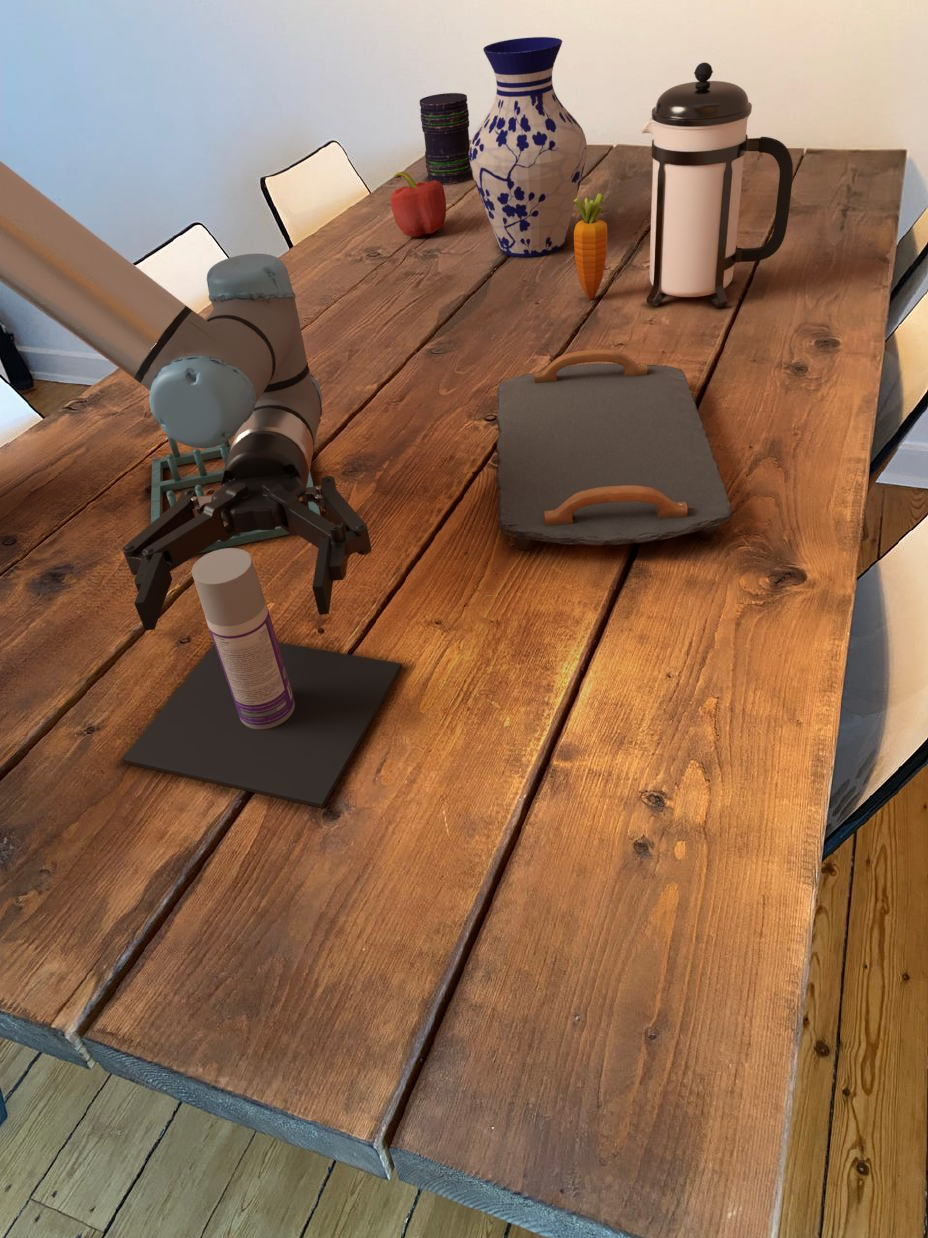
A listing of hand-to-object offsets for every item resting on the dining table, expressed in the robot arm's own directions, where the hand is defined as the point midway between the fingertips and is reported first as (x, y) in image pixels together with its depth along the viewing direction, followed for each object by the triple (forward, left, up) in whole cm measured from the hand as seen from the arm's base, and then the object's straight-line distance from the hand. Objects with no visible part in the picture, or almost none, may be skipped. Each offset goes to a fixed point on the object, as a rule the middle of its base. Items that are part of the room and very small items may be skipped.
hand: (232, 609), depth 72 cm
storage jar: (-49, +150, -12) cm, 158 cm away
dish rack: (-23, +29, -12) cm, 39 cm away
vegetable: (-40, +116, -12) cm, 123 cm away
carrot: (0, +91, -12) cm, 92 cm away
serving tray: (+15, +46, -12) cm, 50 cm away
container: (0, 0, -11) cm, 11 cm away
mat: (0, 0, -12) cm, 12 cm away
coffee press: (+15, +96, -12) cm, 98 cm away
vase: (-17, +112, -12) cm, 114 cm away
